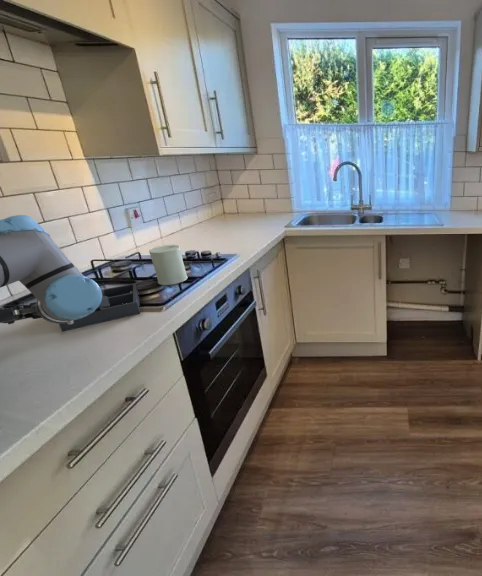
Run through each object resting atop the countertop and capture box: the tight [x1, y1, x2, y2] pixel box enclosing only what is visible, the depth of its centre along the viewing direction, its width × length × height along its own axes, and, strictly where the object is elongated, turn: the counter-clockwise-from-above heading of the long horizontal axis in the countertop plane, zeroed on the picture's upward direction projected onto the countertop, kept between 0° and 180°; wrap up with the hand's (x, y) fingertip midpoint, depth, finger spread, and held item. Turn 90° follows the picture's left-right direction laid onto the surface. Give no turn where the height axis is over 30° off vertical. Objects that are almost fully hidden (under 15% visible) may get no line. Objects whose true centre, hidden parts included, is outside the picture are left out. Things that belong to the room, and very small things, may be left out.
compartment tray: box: [58, 282, 141, 332], centre depth 104 cm, size 17×17×4 cm
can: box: [148, 244, 189, 286], centre depth 124 cm, size 9×9×12 cm
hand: (49, 312), depth 86 cm, fingers open, 13 cm apart
